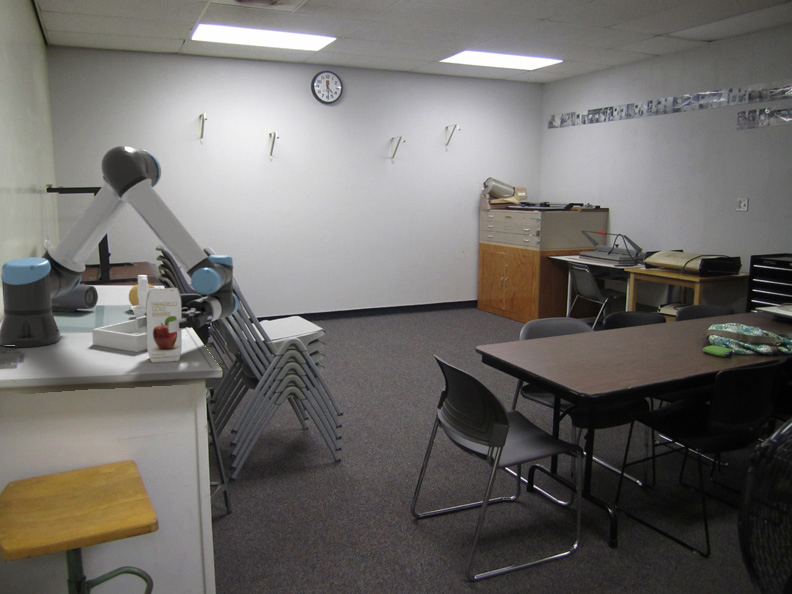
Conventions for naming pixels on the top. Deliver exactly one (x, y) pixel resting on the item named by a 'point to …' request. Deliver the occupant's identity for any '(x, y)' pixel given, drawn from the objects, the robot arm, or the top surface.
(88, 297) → the bluetooth speaker
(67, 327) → the top surface
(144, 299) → the figurine
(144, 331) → the walled box
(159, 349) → the juice carton
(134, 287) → the stress ball
